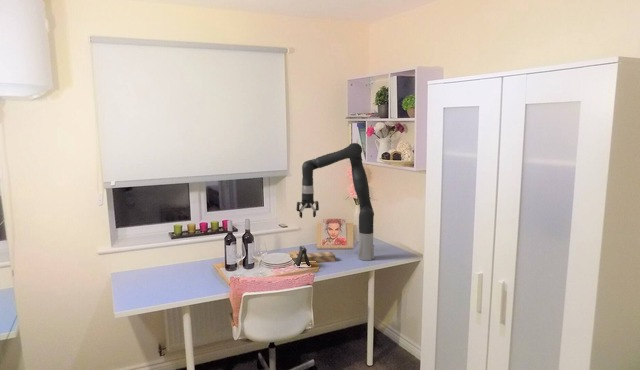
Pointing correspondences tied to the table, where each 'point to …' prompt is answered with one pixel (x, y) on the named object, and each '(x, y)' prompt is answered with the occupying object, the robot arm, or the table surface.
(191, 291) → the table surface
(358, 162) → the robot arm
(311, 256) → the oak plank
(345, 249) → the table surface
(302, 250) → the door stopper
